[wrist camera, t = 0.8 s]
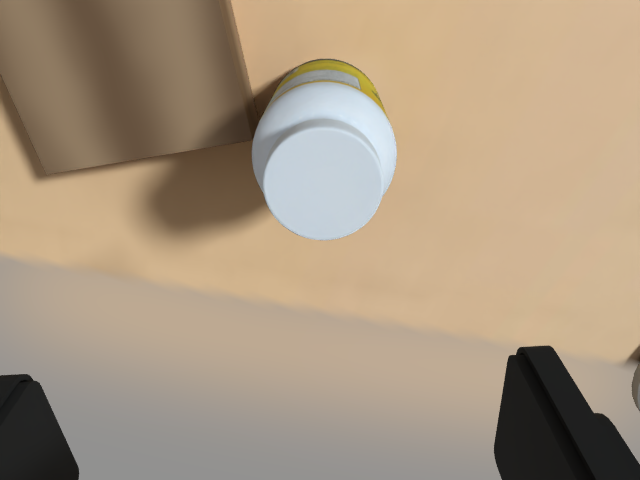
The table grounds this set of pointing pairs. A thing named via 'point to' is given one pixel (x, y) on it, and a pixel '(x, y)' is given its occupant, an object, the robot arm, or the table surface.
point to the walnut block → (124, 78)
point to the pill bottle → (324, 150)
